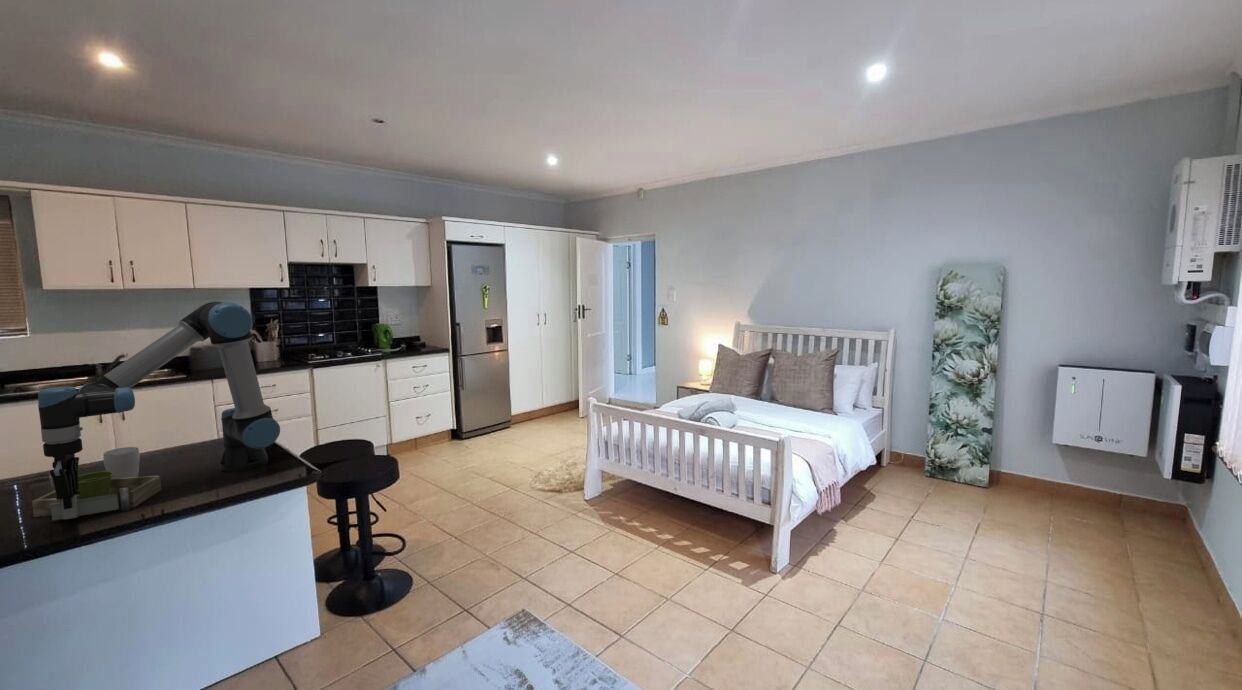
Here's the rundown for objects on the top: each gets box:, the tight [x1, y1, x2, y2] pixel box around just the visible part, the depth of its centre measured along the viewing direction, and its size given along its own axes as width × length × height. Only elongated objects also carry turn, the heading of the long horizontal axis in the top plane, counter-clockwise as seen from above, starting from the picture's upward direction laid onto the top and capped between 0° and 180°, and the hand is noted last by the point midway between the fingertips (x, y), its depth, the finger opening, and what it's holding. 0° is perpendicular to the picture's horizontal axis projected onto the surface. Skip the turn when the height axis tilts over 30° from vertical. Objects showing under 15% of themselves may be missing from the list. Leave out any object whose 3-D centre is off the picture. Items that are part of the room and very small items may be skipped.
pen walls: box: [31, 475, 162, 518], centre depth 160 cm, size 24×16×5 cm
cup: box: [102, 446, 141, 478], centre depth 174 cm, size 9×9×12 cm
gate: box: [50, 493, 120, 521], centre depth 151 cm, size 14×1×5 cm, turn 125°
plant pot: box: [76, 470, 113, 499], centre depth 160 cm, size 9×9×9 cm
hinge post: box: [119, 487, 131, 512], centre depth 156 cm, size 2×2×7 cm
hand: (70, 517), depth 147 cm, fingers closed
